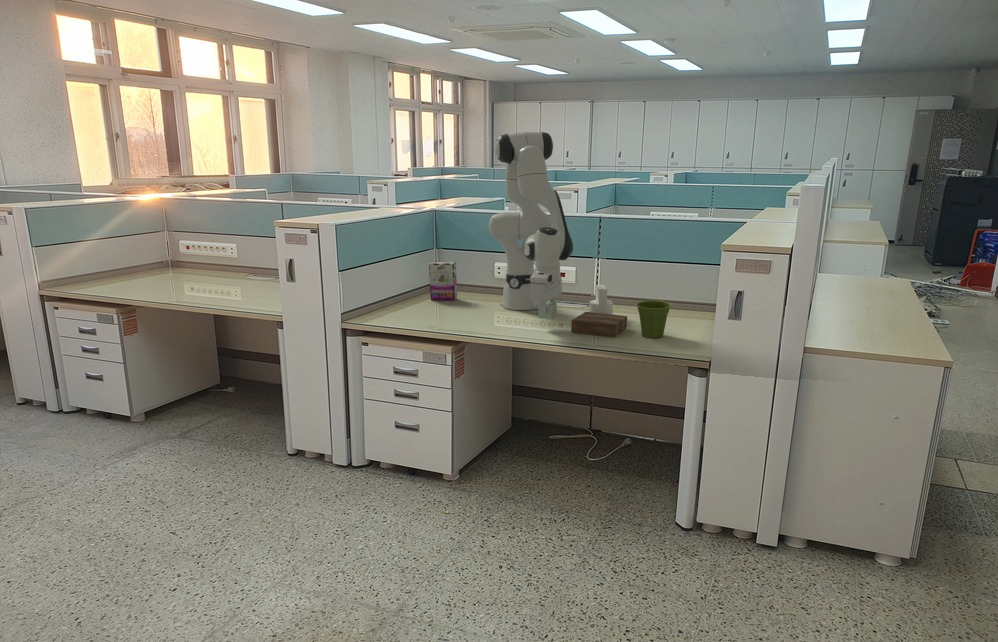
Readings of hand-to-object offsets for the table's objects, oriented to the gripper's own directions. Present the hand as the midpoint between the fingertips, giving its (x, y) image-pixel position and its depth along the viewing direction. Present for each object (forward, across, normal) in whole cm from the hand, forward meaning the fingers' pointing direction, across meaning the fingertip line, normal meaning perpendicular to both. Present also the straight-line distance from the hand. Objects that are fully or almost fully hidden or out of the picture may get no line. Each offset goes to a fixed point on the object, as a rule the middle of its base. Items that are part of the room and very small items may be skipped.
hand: (547, 311), depth 243 cm
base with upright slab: (+7, -24, +12) cm, 28 cm away
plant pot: (+6, -6, +37) cm, 38 cm away
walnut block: (+7, -5, +18) cm, 20 cm away
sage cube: (+2, 0, 0) cm, 2 cm away
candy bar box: (+8, -27, -61) cm, 67 cm away
